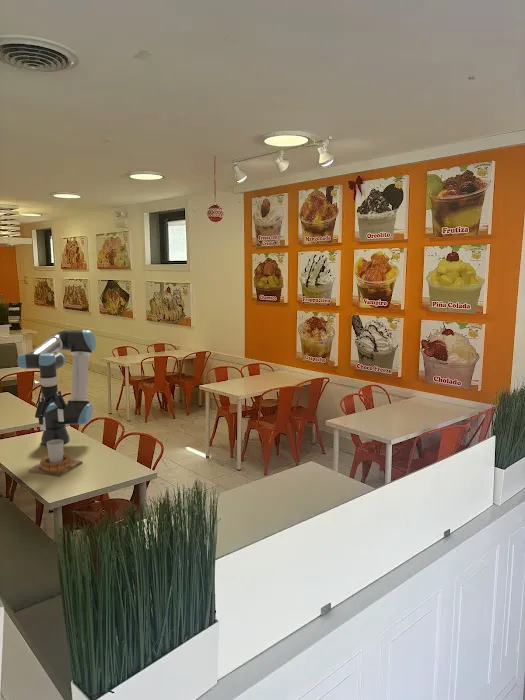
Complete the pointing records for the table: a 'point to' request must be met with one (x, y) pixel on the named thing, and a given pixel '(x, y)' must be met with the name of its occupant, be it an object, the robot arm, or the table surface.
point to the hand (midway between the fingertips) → (52, 425)
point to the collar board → (57, 472)
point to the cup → (55, 450)
